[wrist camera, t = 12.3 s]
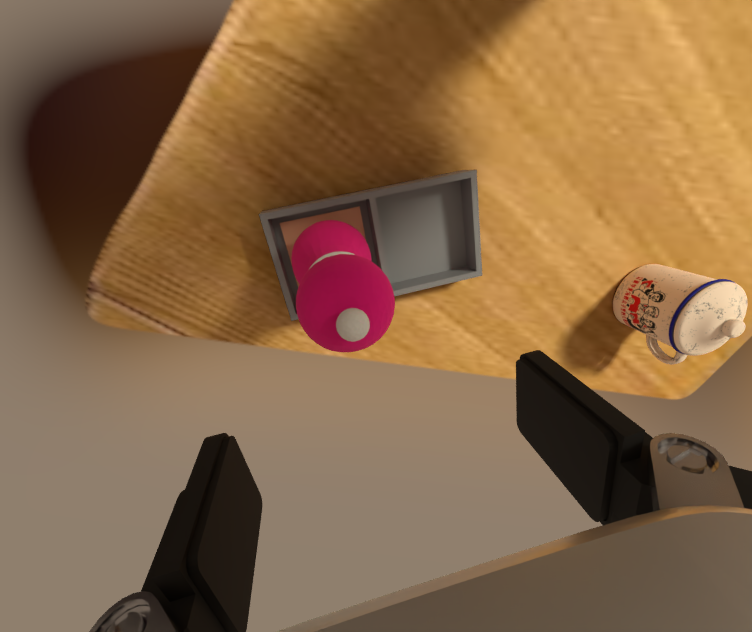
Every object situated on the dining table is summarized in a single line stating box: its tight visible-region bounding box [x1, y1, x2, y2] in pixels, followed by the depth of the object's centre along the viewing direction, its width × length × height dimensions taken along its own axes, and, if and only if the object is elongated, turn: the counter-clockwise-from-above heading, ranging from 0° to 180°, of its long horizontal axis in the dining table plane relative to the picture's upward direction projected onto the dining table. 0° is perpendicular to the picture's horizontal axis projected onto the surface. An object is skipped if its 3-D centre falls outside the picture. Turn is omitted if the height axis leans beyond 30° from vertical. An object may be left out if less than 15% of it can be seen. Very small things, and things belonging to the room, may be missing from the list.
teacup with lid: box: [613, 264, 747, 364], centre depth 42 cm, size 12×9×12 cm
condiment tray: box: [259, 170, 482, 321], centre depth 36 cm, size 11×21×3 cm, turn 100°
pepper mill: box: [291, 220, 395, 352], centre depth 27 cm, size 7×7×20 cm
